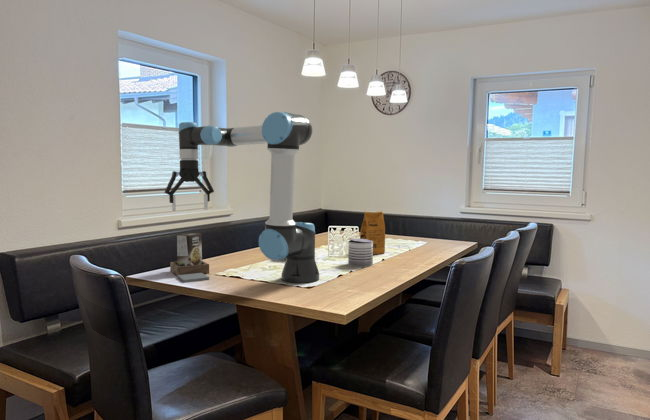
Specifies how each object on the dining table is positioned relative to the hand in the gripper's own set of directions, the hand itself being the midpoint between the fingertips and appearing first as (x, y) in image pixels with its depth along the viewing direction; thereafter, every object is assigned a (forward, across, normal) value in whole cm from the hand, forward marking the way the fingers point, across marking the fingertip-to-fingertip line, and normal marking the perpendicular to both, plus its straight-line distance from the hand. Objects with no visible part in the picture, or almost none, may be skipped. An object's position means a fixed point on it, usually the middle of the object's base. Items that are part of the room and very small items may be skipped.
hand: (190, 210), depth 205 cm
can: (+27, -72, +24) cm, 80 cm away
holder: (+27, +1, 0) cm, 27 cm away
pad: (+27, +3, +12) cm, 30 cm away
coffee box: (+26, +1, 0) cm, 27 cm away
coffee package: (+27, -95, +2) cm, 99 cm away
